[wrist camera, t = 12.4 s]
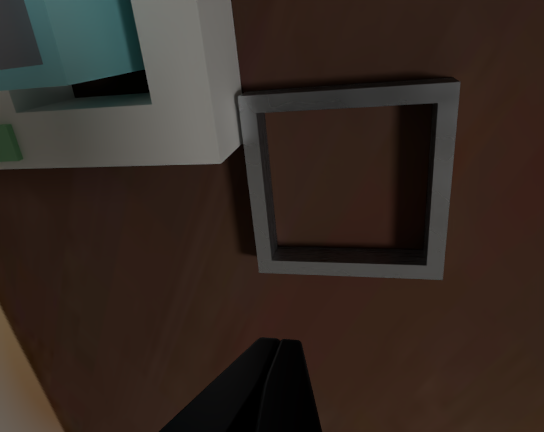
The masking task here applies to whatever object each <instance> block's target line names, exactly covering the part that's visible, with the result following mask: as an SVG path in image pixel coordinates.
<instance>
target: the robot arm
mask: <svg viewBox="0 0 544 432" xmlns="http://www.w3.org/2000/svg"><path fill="white" fill-rule="evenodd" d="M159 432H322V429H321V425H320V420H319V416H318V412H317V407H316V403H315V399H314V395H313V390H312V386H311V382H310V377H309V373H308V369H307V364H306V360H305V356H304V352H303V347H302V343H301V342H300V341H299V340H290V339H282V340H281V341H280V340H279V339H277V338H264V337H262V338H259V339H258V340H257V341H255V342H254V343H253V344H252V345H251V346H250V347H249V348H248V349H247V350H246V351H245V352H244V353H243V354H242V355H240V356H239V357H238V358H237V359H236V360H235V361H234V362H233V363H232V364H231V365H230V366H229V367H228V368H227V369H225V370H224V371H223V372H222V373H221V374H220V375H219V376H218V377H217V378H216V379H215V380H214V381H213V382H211V383H210V384H209V385H208V386H207V387H206V388H205V389H204V390H203V391H202V392H201V393H200V394H199V395H198V396H196V397H195V398H194V399H193V400H192V401H191V402H190V403H189V404H188V405H187V406H186V407H185V408H184V409H183V410H181V411H180V412H179V413H178V414H177V415H176V416H175V417H174V418H173V419H172V420H171V421H170V422H169V423H168V424H166V425H165V426H164V427H163V428H162V429H161V430H160V431H159Z"/></svg>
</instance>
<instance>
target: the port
mask: <svg viewBox="0 0 544 432" xmlns="http://www.w3.org/2000/svg"><path fill="white" fill-rule="evenodd" d="M131 4H132V9H133V14H134V18H135V23H136V28H137V33H138V38H139V43H140V48H141V52H142V57H143V62H144V67H145V72H146V77H147V81H148V86H149V91H150V93H138V94H124V95H110V96H96V97H82V98H75V96H74V92H73V89H72V85H67V86H54V87H42V88H30V89H17V90H5V91H0V169H32V168H71V167H110V166H149V165H188V164H221V163H222V162H223V161H224V160H225V159H226V158H227V157H229V156H230V155H231V154H232V153H233V152H234V151H235V150H236V149H237V148H238V147H239V146H240V145H241V144H242V143H243V137H242V129H241V120H240V112H239V104H238V96H239V95H241V94H242V90H241V82H240V73H239V65H238V56H237V48H236V40H235V31H234V23H233V14H232V6H231V0H131Z"/></svg>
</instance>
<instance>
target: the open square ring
mask: <svg viewBox="0 0 544 432" xmlns="http://www.w3.org/2000/svg"><path fill="white" fill-rule="evenodd" d="M459 92H460V81H458V80H457V79H455V78H454V77H451V78H436V79H421V80H407V81H392V82H377V83H362V84H348V85H333V86H318V87H304V88H289V89H274V90H259V91H247V92H245V93H243V94H241V95H239V96H238V104H239V112H240V120H241V129H242V137H243V145H244V153H245V161H246V169H247V177H248V186H249V194H250V202H251V210H252V218H253V226H254V235H255V243H256V251H257V259H258V267H259V273H280V274H306V275H332V276H358V277H383V278H409V279H435V280H443V270H444V258H445V247H446V236H447V225H448V214H449V203H450V192H451V181H452V170H453V158H454V147H455V136H456V125H457V114H458V103H459ZM428 103H433V108H432V123H431V138H430V154H429V169H428V184H427V200H426V215H425V230H424V246H423V250H400V249H357V248H314V247H278V245H277V235H276V225H275V215H274V204H273V194H272V184H271V174H270V164H269V154H268V143H267V133H266V123H265V113H264V112H283V111H301V110H319V109H337V108H356V107H374V106H392V105H410V104H428Z"/></svg>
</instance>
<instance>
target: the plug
mask: <svg viewBox="0 0 544 432" xmlns="http://www.w3.org/2000/svg"><path fill="white" fill-rule="evenodd" d="M144 69H145V67H144V62H143V57H142V52H141V48H140V43H139V38H138V33H137V28H136V23H135V18H134V14H133V9H132V4H131V0H0V91H5V90H17V89H30V88H42V87H54V86H67V85H72V84H77V83H82V82H87V81H92V80H96V79H101V78H106V77H111V76H116V75H120V74H125V73H130V72H135V71H139V70H144Z"/></svg>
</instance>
